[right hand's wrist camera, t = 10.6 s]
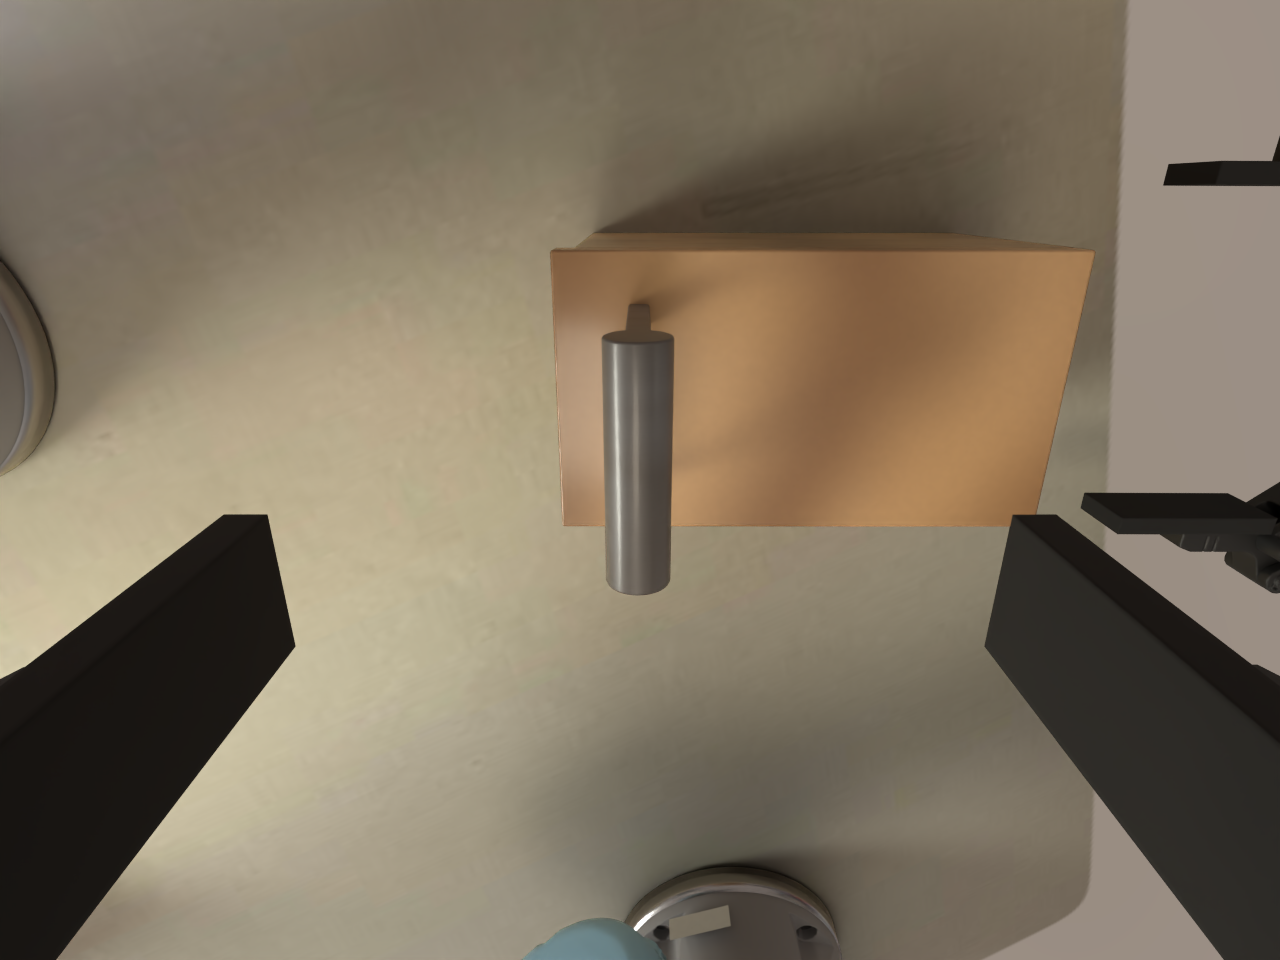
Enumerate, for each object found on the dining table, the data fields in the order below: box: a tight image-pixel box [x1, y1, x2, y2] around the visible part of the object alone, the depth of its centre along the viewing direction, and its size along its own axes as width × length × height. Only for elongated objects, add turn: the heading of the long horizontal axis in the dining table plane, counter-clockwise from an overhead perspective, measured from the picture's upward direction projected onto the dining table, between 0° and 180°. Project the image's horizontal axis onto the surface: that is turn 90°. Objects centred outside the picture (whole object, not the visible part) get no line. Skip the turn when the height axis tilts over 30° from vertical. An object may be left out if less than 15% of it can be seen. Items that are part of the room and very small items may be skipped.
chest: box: [575, 233, 1073, 248], centre depth 30 cm, size 17×10×10 cm, turn 90°
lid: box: [550, 248, 1095, 595], centre depth 21 cm, size 17×10×8 cm, turn 90°
